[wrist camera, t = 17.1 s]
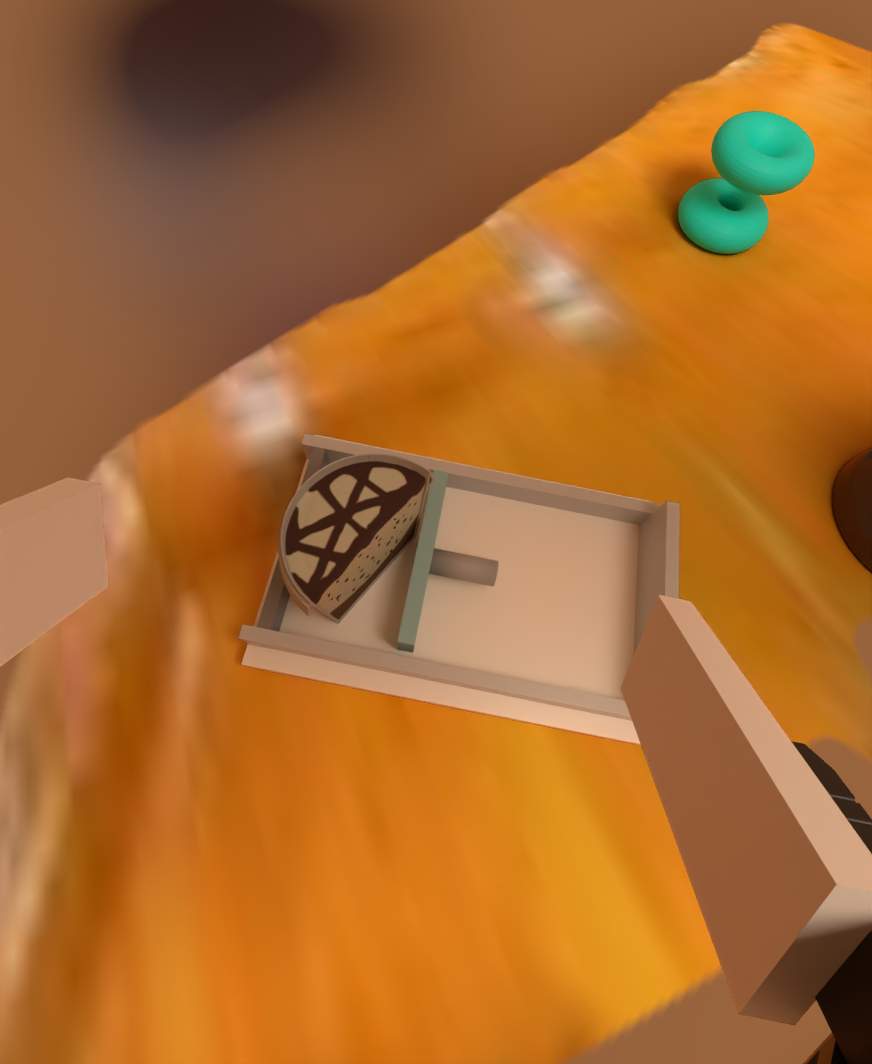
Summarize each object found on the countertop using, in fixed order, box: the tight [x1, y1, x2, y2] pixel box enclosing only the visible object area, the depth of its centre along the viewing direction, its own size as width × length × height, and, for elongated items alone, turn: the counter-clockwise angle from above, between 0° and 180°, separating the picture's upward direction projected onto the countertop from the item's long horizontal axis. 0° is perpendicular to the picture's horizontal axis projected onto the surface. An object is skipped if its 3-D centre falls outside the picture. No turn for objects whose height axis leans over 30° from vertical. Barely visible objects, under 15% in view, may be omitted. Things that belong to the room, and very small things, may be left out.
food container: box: [278, 453, 434, 624], centre depth 38 cm, size 12×6×10 cm, turn 141°
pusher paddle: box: [397, 470, 498, 653], centre depth 40 cm, size 6×14×4 cm, turn 170°
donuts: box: [678, 111, 815, 254], centre depth 57 cm, size 10×10×10 cm
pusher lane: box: [238, 434, 680, 745], centre depth 41 cm, size 30×20×6 cm, turn 79°
